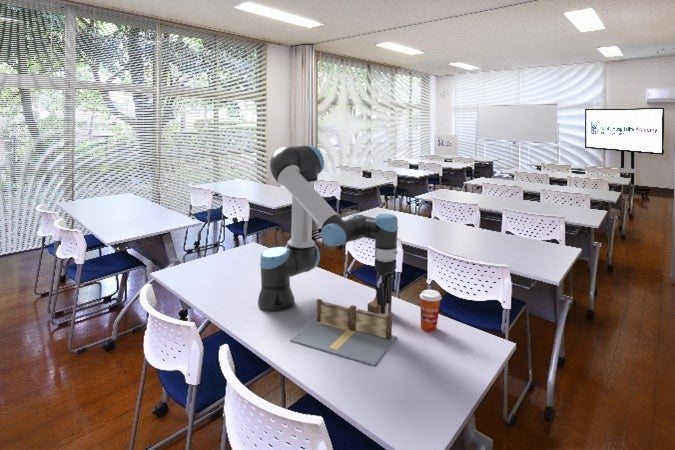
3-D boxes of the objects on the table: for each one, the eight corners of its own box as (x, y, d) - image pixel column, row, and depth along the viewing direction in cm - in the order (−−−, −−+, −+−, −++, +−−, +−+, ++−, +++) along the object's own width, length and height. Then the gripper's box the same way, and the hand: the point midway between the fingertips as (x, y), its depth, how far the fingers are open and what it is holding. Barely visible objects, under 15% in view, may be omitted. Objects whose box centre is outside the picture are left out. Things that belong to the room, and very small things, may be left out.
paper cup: (416, 331, 151) (418, 295, 148) (420, 321, 158) (422, 287, 155) (437, 335, 148) (440, 299, 145) (441, 325, 155) (443, 291, 152)
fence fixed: (315, 321, 157) (315, 299, 155) (319, 318, 159) (318, 297, 157) (354, 331, 150) (354, 308, 148) (357, 328, 152) (357, 306, 150)
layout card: (289, 341, 144) (289, 339, 144) (319, 317, 161) (319, 316, 161) (374, 366, 130) (374, 364, 130) (396, 337, 147) (396, 336, 147)
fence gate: (355, 330, 150) (355, 310, 148) (357, 328, 152) (357, 308, 150) (390, 339, 144) (391, 318, 142) (392, 337, 145) (393, 316, 143)
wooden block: (374, 318, 161) (375, 274, 157) (367, 313, 165) (367, 271, 160) (391, 312, 166) (393, 269, 162) (384, 308, 170) (385, 266, 165)
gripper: (388, 265, 137) (386, 330, 143) (402, 254, 148) (399, 315, 154) (368, 262, 140) (366, 325, 146) (382, 251, 152) (380, 310, 157)
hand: (383, 320), depth 150 cm, fingers closed
